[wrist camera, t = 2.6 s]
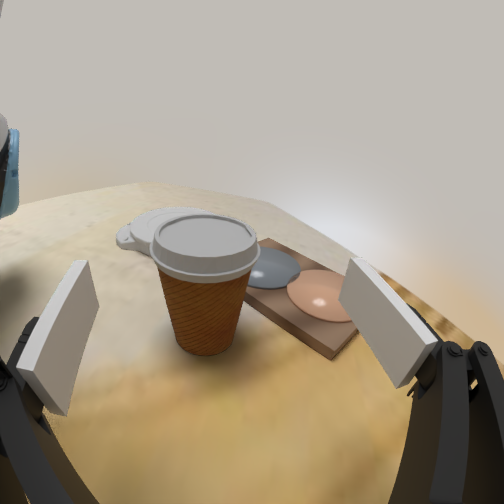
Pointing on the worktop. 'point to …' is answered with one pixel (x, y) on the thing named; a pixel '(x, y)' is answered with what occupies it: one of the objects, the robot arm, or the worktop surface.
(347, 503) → the worktop surface
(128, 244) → the lid
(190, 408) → the worktop surface
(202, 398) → the worktop surface
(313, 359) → the worktop surface
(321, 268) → the walnut board
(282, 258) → the slate disc
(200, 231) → the disposable coffee cup
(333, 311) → the terracotta disc
